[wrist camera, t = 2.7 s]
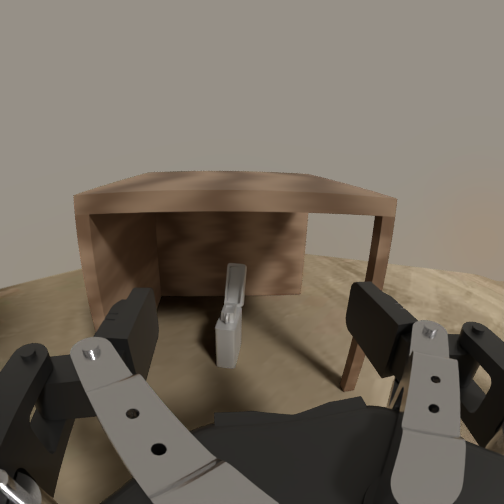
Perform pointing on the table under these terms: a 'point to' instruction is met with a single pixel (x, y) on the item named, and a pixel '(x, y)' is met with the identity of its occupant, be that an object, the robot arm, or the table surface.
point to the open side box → (215, 235)
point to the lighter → (231, 317)
